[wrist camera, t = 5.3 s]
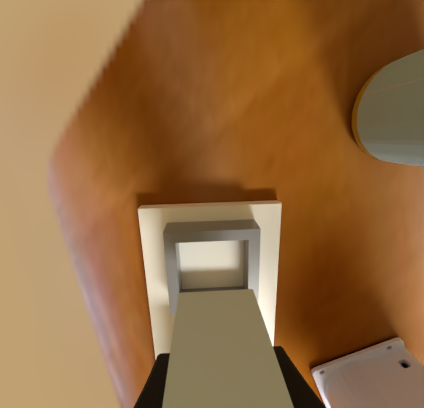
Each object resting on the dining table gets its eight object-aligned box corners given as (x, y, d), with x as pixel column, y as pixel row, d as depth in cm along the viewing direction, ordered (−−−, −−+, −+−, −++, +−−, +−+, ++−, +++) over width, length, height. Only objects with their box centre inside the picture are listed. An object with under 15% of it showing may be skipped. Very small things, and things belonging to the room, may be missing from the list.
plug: (178, 292, 12) (159, 427, 7) (253, 289, 13) (297, 416, 7) (183, 359, 14) (171, 521, 8) (251, 355, 14) (286, 511, 8)
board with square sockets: (140, 205, 18) (119, 228, 14) (277, 200, 19) (303, 221, 14) (162, 391, 24) (152, 454, 19) (267, 384, 24) (284, 444, 20)
